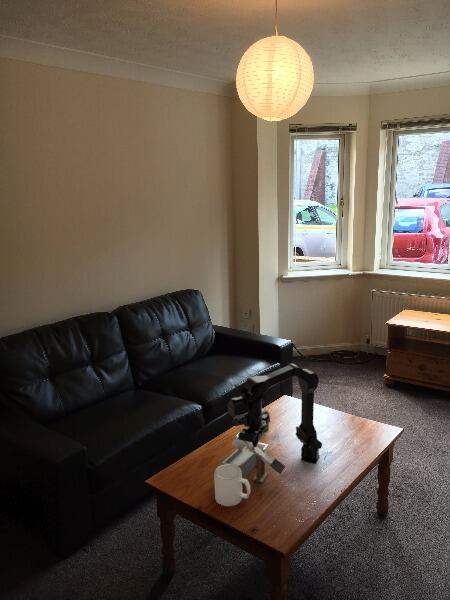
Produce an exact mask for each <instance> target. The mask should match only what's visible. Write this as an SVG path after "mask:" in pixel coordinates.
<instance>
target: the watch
mask: <svg viewBox="0 0 450 600" xmlns="http://www.w3.org/2000/svg"><path fill="white" fill-rule="evenodd" d="M262 411H264V414H266V415H269V417H270V418H271V415H270V412H269V411H268V410H266V409H264V408H263V407H262ZM269 426H270V425H269V424H266V421H264V424H263V425H262V426H261V427H262V428H265V430H264V432H263V434H264V433H266V432H269V430H270V429H269V428H270V427H269Z"/></svg>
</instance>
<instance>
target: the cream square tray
mask: <svg viewBox="0 0 450 600" xmlns="http://www.w3.org/2000/svg"><path fill="white" fill-rule="evenodd" d="M257 446H258V448H259V449H264V450H265V453H266V454H267V455H268V453H269V444H268V443H267V444H266V443H264V442H263V443H262V442H260V441H259V442H258V444H257ZM243 451H247V452H251V451H250V450H249V449H248V448H247V447H246V446H245V447H244V448H243Z"/></svg>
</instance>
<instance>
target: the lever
mask: <svg viewBox="0 0 450 600" xmlns="http://www.w3.org/2000/svg"><path fill="white" fill-rule="evenodd" d="M240 432H241V431H239V432H238V433H237V434H236V435H235V437H234V439H233V440H232V443H231V445H232V446H233V447H235V448H236V450H237V449H238V450H240V451H242V450H243V448H244V447H245V446H246V447H247V448H248V449H249V450H251V451H252V452H253V453H254V454H255V455H256V454H259V455H260V456H261V460H263V461H264V462H265V465H267V466H269V467H270V468H271V469H272V470H273V471H274V472H276V473H277V474H278V475H281V474H282V472H283V471H284V470H285V468H286V466H285V465H284V464H283V463H282V462H280V461H279V460H278V459H277V458H272V457H270V456H269V455H268V453H267V454H266V453H264V452H263V451H262V450H261V449H259V448H258V447H253V445H252V442H247V441H243V440H239V439H238V434H239V433H240Z"/></svg>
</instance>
